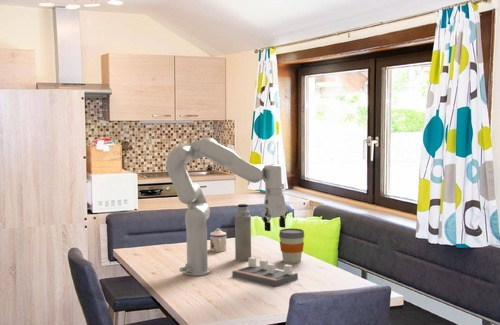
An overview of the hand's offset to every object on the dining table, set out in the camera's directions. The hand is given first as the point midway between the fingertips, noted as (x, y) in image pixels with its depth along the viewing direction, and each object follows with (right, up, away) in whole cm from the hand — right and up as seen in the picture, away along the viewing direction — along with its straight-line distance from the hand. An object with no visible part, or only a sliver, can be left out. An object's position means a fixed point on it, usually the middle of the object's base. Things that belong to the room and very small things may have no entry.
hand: (275, 229), depth 289 cm
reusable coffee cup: (+9, -19, +28) cm, 35 cm away
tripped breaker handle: (-2, -19, -6) cm, 20 cm away
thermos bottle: (-15, -19, +30) cm, 39 cm away
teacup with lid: (-28, -17, +50) cm, 60 cm away
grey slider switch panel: (-5, -22, -4) cm, 22 cm away
